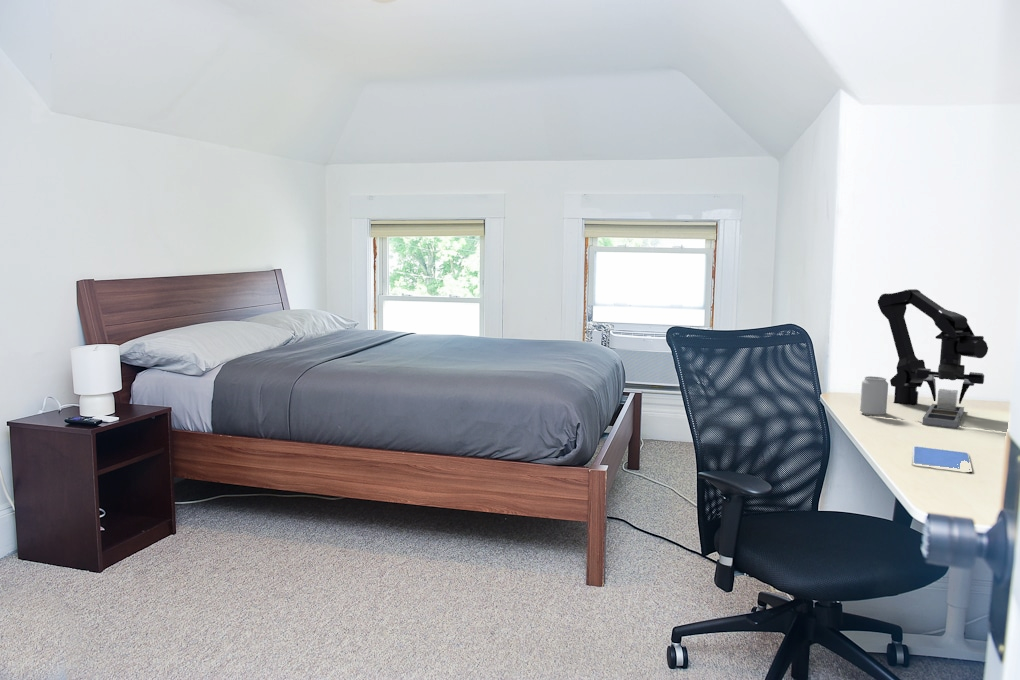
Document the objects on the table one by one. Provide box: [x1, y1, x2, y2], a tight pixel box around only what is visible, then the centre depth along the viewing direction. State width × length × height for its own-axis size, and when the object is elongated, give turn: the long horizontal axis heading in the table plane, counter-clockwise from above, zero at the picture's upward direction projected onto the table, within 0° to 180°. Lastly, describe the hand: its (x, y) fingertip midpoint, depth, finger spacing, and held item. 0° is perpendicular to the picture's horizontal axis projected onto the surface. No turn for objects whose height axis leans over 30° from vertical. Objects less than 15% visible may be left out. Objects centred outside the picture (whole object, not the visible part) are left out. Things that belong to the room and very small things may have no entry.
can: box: [859, 375, 889, 417], centre depth 231 cm, size 8×8×12 cm
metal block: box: [936, 388, 959, 411], centre depth 233 cm, size 5×5×7 cm
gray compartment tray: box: [921, 403, 965, 429], centre depth 227 cm, size 9×27×2 cm, turn 145°
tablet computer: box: [912, 446, 971, 470], centre depth 179 cm, size 19×13×1 cm, turn 150°
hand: (947, 402), depth 233 cm, fingers open, 7 cm apart
